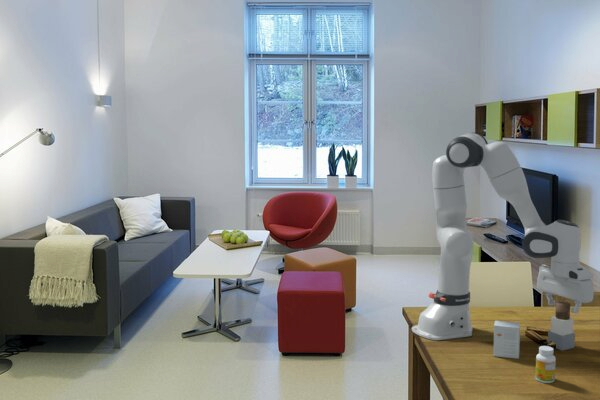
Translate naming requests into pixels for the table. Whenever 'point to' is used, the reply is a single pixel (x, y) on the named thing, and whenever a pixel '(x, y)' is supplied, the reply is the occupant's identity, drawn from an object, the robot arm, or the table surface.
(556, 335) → the base block
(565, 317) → the walnut cylinder
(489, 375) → the table surface
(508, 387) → the table surface
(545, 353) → the supplement bottle
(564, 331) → the top block
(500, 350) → the small box
